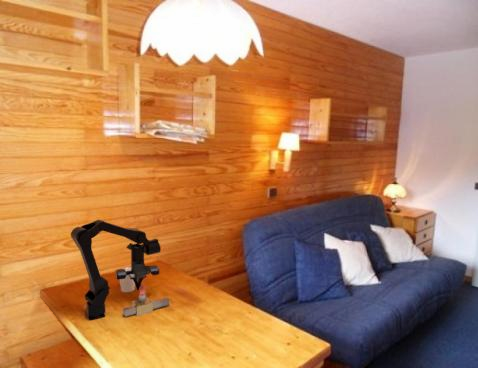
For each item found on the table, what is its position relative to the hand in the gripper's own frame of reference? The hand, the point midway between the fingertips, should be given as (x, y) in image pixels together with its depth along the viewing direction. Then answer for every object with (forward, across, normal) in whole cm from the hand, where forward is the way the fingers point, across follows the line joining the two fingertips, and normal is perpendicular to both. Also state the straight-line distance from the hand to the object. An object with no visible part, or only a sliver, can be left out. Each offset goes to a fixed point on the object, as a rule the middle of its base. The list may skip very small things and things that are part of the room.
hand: (137, 290), depth 170 cm
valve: (+6, +2, -9) cm, 11 cm away
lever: (0, +1, -5) cm, 5 cm away
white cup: (+6, -2, +16) cm, 18 cm away
